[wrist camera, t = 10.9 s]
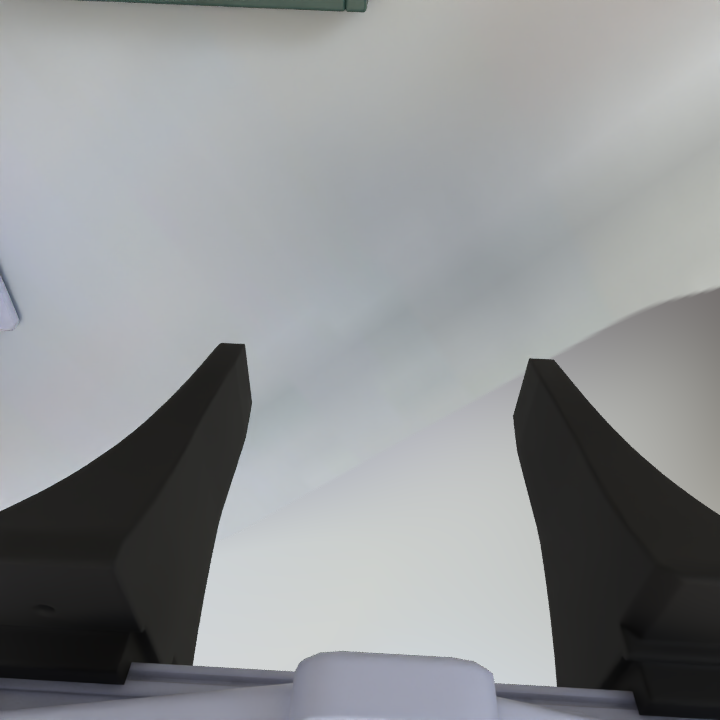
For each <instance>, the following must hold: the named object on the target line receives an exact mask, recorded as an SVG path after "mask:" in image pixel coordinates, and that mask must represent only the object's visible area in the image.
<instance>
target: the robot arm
mask: <svg viewBox="0 0 720 720" xmlns="http://www.w3.org/2000/svg"><path fill="white" fill-rule="evenodd" d="M18 324H19V318H18V315H17V313H16V311H15V308H14V306H13V303H12V301H11V299H10V296H9V294H8V292H7V289H6V287H5V285H4V282H3V280H2V278H1V275H0V330H3V331H10V330H13V329H15V328H16V327H17V325H18ZM251 406H252V398H251V390H250V382H249V374H248V366H247V358H246V350H245V344H231V343H220V344H219V345H218V346H217V347H216V348H215V349H214V351H213V352H212V353H211V354H210V355H209V356H208V358H207V359H206V360H205V361H204V362H203V363H202V365H201V366H200V367H199V368H198V369H197V370H196V371H195V372H194V374H193V375H192V376H191V377H190V378H189V379H188V380H187V381H186V382H185V383H184V384H183V385H182V386H181V387H180V388H179V390H178V391H177V392H176V393H175V394H174V395H173V396H172V397H171V398H170V399H169V400H168V401H167V402H166V403H165V404H164V405H162V406H161V407H160V408H159V409H158V410H157V411H156V412H155V413H154V414H153V415H152V416H151V417H150V418H149V419H148V420H146V421H145V422H144V423H143V424H142V425H141V426H139V427H138V428H137V429H136V430H135V431H133V432H132V433H131V434H130V435H128V436H127V437H126V438H125V439H123V440H122V441H121V442H120V443H118V444H117V445H116V446H114V447H113V448H111V449H110V450H108V451H107V452H105V453H104V454H102V455H101V456H100V457H98V458H97V459H95V460H94V461H92V462H91V463H89V464H88V465H86V466H85V467H83V468H82V469H80V470H78V471H77V472H75V473H73V474H72V475H70V476H68V477H67V478H65V479H63V480H61V481H59V482H58V483H56V484H54V485H52V486H51V487H49V488H47V489H45V490H43V491H41V492H39V493H37V494H35V495H33V496H31V497H29V498H27V499H25V500H23V501H21V502H19V503H17V504H15V505H13V506H11V507H9V508H6V509H4V510H2V511H0V720H720V515H719V514H717V513H716V512H714V511H713V510H711V509H710V508H708V507H707V506H705V505H704V504H702V503H701V502H699V501H698V500H696V499H695V498H694V497H692V496H691V495H690V494H688V493H687V492H686V491H684V490H683V489H682V488H680V487H679V486H677V485H676V484H675V483H673V482H672V481H671V480H670V479H668V478H667V477H666V476H665V475H663V474H662V473H661V472H660V471H658V470H657V469H656V468H655V467H654V466H653V465H652V464H650V463H649V462H648V461H647V460H646V459H645V458H643V457H642V456H641V455H640V454H639V453H638V452H637V451H636V450H634V449H633V448H632V447H631V446H630V445H629V444H628V443H627V442H626V441H625V440H624V439H623V438H622V437H621V436H620V435H619V434H618V433H617V432H616V431H615V430H614V429H613V428H612V427H611V426H610V425H609V424H608V423H607V422H606V421H605V419H604V418H603V417H602V416H601V415H600V414H599V413H598V412H597V411H596V409H595V408H594V407H593V406H592V405H591V404H590V403H589V402H588V400H587V399H586V398H585V397H584V396H583V394H582V393H581V392H580V391H579V390H578V388H577V387H576V386H575V385H574V384H573V382H572V381H571V380H570V379H569V377H568V376H567V375H566V374H565V373H564V372H563V370H562V369H561V368H560V367H559V365H558V364H557V363H556V362H555V361H554V360H551V359H531V358H529V361H528V365H527V369H526V372H525V376H524V380H523V383H522V387H521V390H520V394H519V397H518V401H517V404H516V408H515V411H514V415H513V419H514V429H515V438H516V445H517V452H518V456H519V460H520V464H521V468H522V472H523V476H524V480H525V484H526V487H527V491H528V495H529V499H530V503H531V506H532V510H533V514H534V518H535V522H536V525H537V530H538V534H539V539H540V544H541V550H542V558H543V564H544V571H545V578H546V585H547V594H548V601H549V608H550V617H551V627H552V636H553V646H554V655H555V667H556V679H557V687H550V686H533V685H532V686H531V685H515V684H497V683H494V678H493V674H492V673H491V672H490V671H489V670H487V669H486V668H484V667H482V666H481V665H479V664H477V663H476V662H474V661H469V660H463V659H458V658H452V657H436V656H418V655H401V654H383V653H366V652H365V653H364V652H348V651H338V652H323V653H318V654H316V655H313V656H311V657H308V658H306V659H304V660H303V661H301V662H300V663H299V665H298V667H297V669H296V671H295V672H292V671H291V672H290V671H274V670H257V669H240V668H223V667H222V668H221V667H205V666H193V660H194V653H195V647H196V640H197V634H198V627H199V623H200V617H201V611H202V605H203V599H204V594H205V589H206V584H207V578H208V573H209V568H210V563H211V558H212V553H213V548H214V543H215V539H216V534H217V529H218V525H219V521H220V517H221V514H222V510H223V507H224V504H225V501H226V498H227V494H228V491H229V488H230V485H231V482H232V479H233V476H234V473H235V470H236V467H237V464H238V460H239V457H240V454H241V451H242V448H243V445H244V441H245V438H246V433H247V428H248V423H249V417H250V412H251Z"/></svg>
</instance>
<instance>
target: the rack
mask: <svg viewBox="0 0 720 720" xmlns="http://www.w3.org/2000/svg"><path fill="white" fill-rule="evenodd" d="M80 1H104V2H128V3H152V4H176V5H200V6H224V7H248V8H272V9H296V10H320V11H344V10H346V11H347V12H365V11H366V8H367V3H368V0H80Z"/></svg>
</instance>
